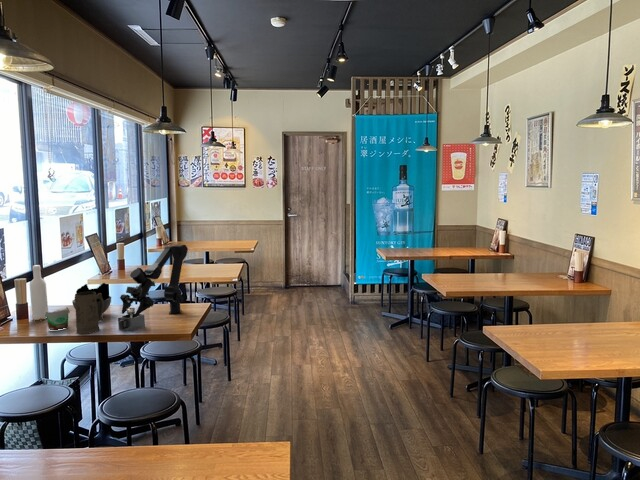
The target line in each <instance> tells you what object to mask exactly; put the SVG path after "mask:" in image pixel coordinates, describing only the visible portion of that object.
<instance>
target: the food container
mask: <svg viewBox="0 0 640 480" xmlns="http://www.w3.org/2000/svg"><path fill="white" fill-rule="evenodd" d="M69 314H70V308H69V307H67V306H66V308H65V309H61V310H60V309H59V310H54V311H52V312H50V311H48V312H46V313H45V316H46V317H47V319H46V321H47V325H48V326H47V327H48V330H49V329H50V330H58V329H63V328H67V327H68V328H69ZM68 328H67V329H68Z"/></svg>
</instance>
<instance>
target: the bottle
mask: <svg viewBox="0 0 640 480" xmlns="http://www.w3.org/2000/svg"><path fill="white" fill-rule="evenodd" d="M41 269H42V268H41V265H40V264H35V265H32V274H33V279H32V280H31V281H30V283H29V290H30V301H31V302H30V303H31V312H32V315H31V316H32V319H33V318H34V319H40V318H46V316H45V313H46V312H49V305H48V294H47V293H48V291H47V283H46V281H45V279H43V277H42V272H41Z"/></svg>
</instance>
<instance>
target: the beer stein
mask: <svg viewBox="0 0 640 480" xmlns="http://www.w3.org/2000/svg"><path fill="white" fill-rule="evenodd" d="M74 299H75V303H76V307H75V308H74V310H75V324H76V330H75V331H76V334H78V333H79V334H80V335H88V333H90V334H93V332H94V333H97V332H99V331H100V326H99V325H100V322H103V321H104V318H103V314H104V313H103V310H104V301H103V298H102V293H99V294H98V295H96V293H95V292H81V293H76V292H75V294H74ZM96 299H99V302H100V310H99V315H98V305H97V300H96ZM102 313H103V314H102ZM79 334H78V335H79Z"/></svg>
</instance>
